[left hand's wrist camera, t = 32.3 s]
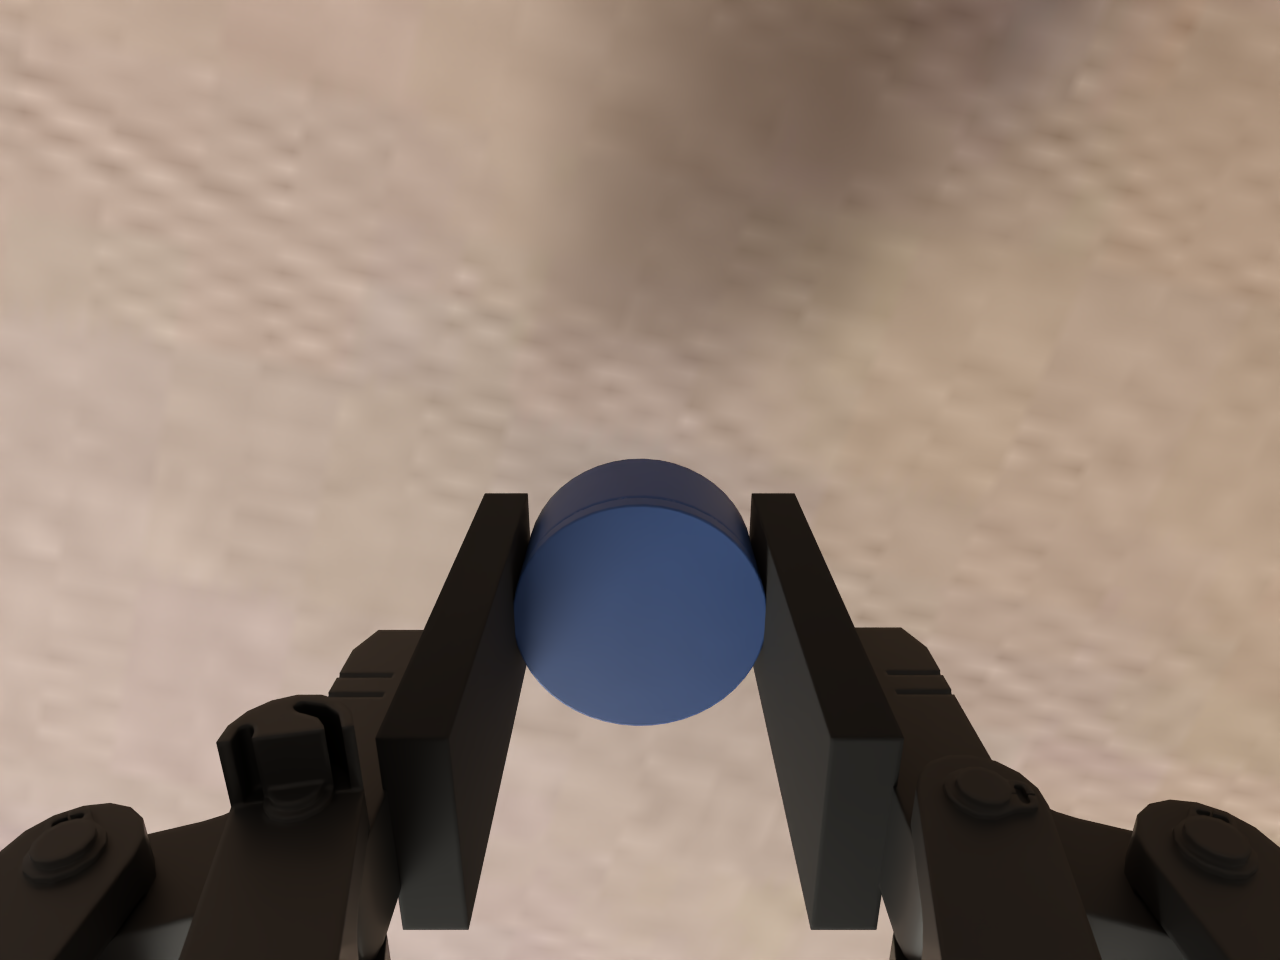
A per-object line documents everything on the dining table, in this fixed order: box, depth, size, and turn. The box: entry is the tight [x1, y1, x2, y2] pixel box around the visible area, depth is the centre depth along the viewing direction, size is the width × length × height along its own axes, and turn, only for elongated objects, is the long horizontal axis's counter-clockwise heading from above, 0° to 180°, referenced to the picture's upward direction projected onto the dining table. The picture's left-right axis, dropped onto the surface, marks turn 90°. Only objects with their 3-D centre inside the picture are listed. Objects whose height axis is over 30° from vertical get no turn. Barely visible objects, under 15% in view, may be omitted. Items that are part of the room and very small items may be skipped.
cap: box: [513, 459, 766, 726], centre depth 14 cm, size 4×4×2 cm
